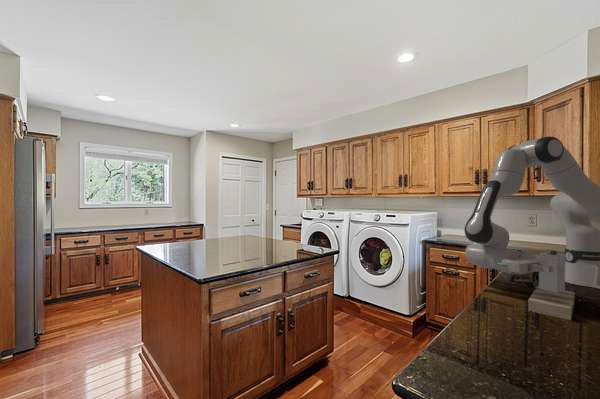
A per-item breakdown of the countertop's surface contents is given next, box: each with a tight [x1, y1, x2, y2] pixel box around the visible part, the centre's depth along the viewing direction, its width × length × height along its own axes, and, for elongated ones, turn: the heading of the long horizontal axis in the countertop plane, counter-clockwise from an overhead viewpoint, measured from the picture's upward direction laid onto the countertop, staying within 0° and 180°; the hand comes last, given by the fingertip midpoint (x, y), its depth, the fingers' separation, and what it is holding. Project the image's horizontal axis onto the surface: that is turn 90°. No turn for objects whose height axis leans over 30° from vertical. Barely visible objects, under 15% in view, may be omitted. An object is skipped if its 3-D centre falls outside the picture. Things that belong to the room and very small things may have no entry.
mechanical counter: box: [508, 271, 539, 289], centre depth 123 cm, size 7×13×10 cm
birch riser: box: [527, 286, 575, 321], centre depth 97 cm, size 22×10×4 cm, turn 135°
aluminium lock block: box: [538, 249, 566, 293], centre depth 97 cm, size 5×5×13 cm
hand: (555, 269), depth 96 cm, fingers closed on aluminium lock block, 5 cm apart
